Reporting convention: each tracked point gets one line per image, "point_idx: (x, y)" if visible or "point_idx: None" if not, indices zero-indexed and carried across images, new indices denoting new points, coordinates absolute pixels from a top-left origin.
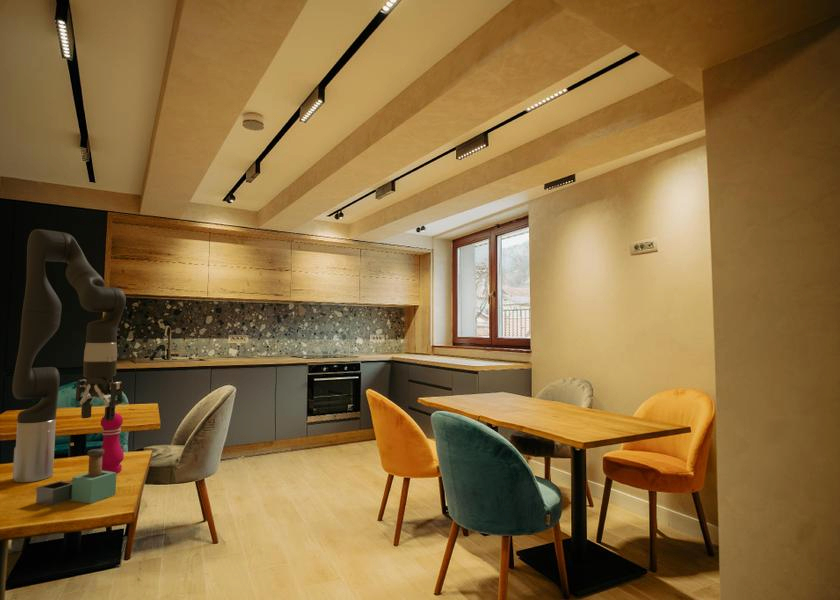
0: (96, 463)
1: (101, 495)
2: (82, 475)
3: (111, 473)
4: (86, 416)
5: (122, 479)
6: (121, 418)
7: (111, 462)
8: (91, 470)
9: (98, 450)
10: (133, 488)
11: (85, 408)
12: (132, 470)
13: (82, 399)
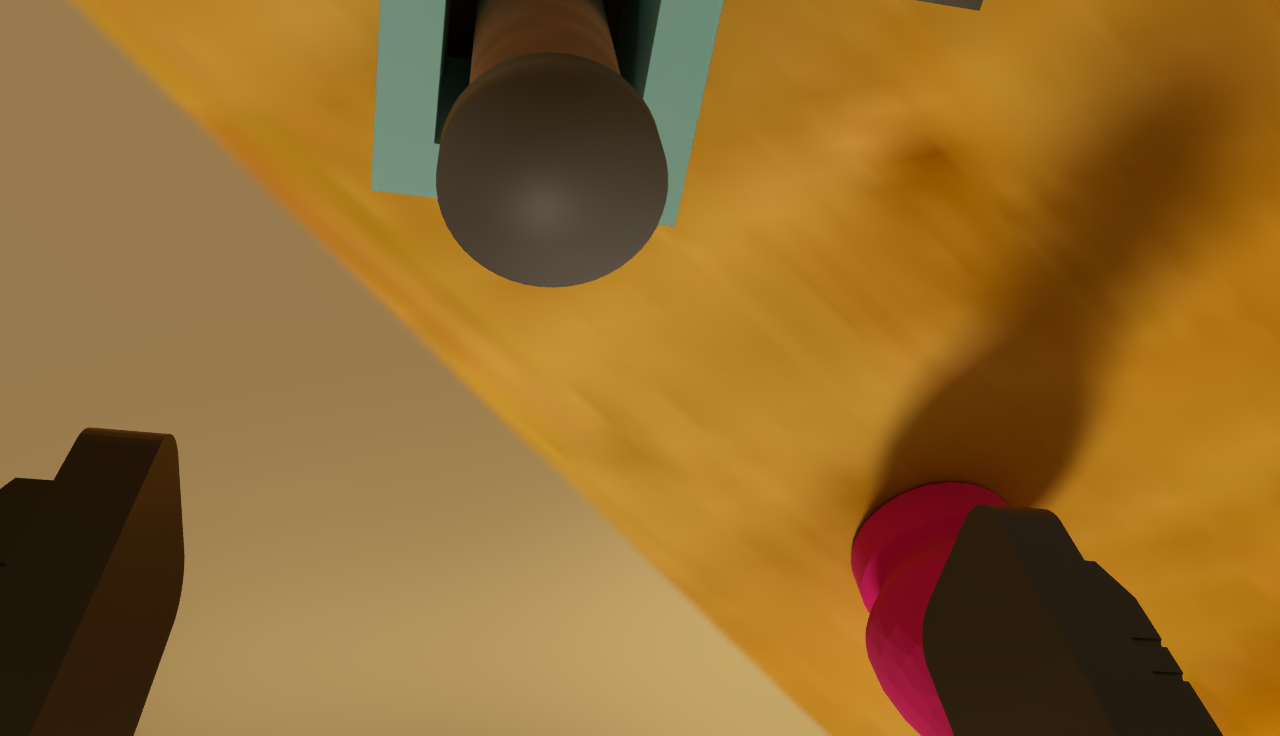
0: (482, 69)
1: None
2: (676, 6)
3: (393, 146)
4: (968, 581)
5: (689, 439)
6: None
7: (904, 574)
8: (530, 10)
9: (510, 189)
10: (388, 278)
11: (1069, 733)
12: (781, 611)
13: None
